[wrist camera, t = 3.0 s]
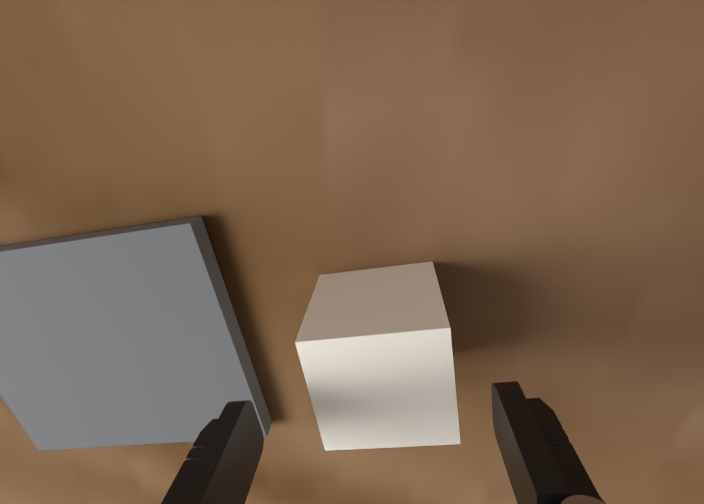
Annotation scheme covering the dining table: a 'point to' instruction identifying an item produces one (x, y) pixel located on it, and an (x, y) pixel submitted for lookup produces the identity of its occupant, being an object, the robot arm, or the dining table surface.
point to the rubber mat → (120, 337)
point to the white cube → (380, 359)
